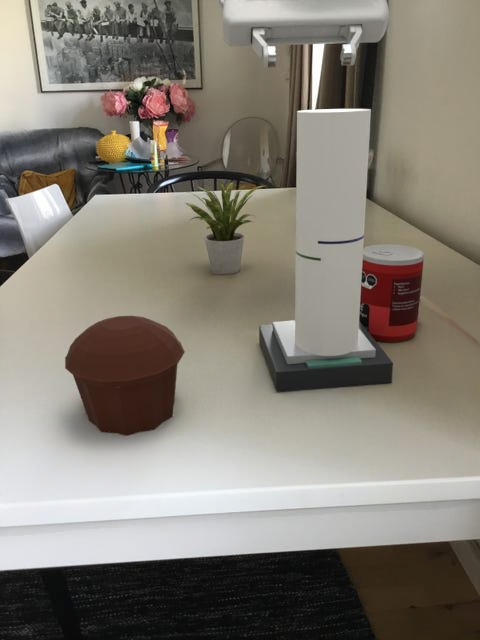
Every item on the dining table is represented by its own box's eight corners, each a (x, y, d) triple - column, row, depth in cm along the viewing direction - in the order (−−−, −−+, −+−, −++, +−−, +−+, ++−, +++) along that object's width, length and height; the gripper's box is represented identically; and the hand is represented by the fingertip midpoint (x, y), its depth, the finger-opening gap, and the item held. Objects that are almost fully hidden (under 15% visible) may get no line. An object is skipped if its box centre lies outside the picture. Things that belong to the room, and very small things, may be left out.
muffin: (190, 383, 64) (185, 300, 60) (186, 439, 54) (179, 344, 50) (85, 387, 64) (73, 305, 60) (61, 445, 54) (44, 350, 50)
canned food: (360, 317, 81) (365, 242, 76) (419, 323, 78) (426, 246, 74) (350, 338, 74) (354, 257, 70) (413, 346, 71) (421, 262, 67)
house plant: (251, 254, 113) (249, 170, 107) (282, 272, 101) (282, 179, 95) (182, 263, 108) (176, 176, 102) (206, 284, 96) (201, 187, 90)
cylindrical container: (356, 358, 61) (370, 111, 51) (290, 353, 63) (292, 113, 53) (359, 332, 67) (371, 108, 58) (299, 328, 69) (302, 109, 59)
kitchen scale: (356, 335, 75) (357, 311, 74) (391, 382, 63) (393, 354, 62) (259, 343, 74) (258, 318, 72) (276, 392, 62) (276, 363, 60)
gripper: (217, -41, 69) (221, 42, 64) (383, -45, 70) (400, 37, 64) (218, 6, 75) (222, 85, 70) (371, 1, 76) (387, 80, 70)
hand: (309, 62), depth 67 cm, fingers open, 8 cm apart
